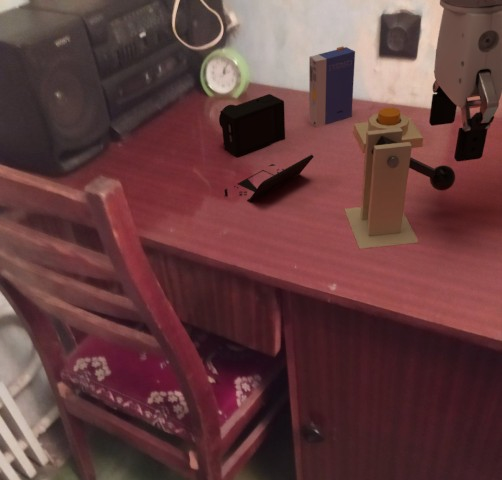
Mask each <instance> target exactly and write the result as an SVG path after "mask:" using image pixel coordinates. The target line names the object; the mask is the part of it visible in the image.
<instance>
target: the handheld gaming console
mask: <svg viewBox="0 0 502 480" xmlns="http://www.w3.org/2000/svg"><path fill="white" fill-rule="evenodd" d="M313 159H314V155H313V154H310V155H308V156H306V157H305V158H303V159H301V160H299V161H297V162H295V163H293V164H292V165H291V166H288V167H287V168H282V169H281V171H280V169H279V168H278V169H276V173H275V174H273V173H271V172H268V171H267V170H264V169H262V170H260V171H258V172H256V173H254V174H253V175H251V176H248V177H246V178H245V179H243V180H242V181H239V182H237V183H236V185H238V186H240V187H243V188H244V189H246V190H249V191H251V192H253V193H252V195H251V196H250V198H247V200H246V202H248V203H252V202H253V201H255V200H257V199H259V198H261V197H263V196H264V195H266V194H267V193H270V192H272V191H273V190H274V189H277V188H278V187H280V186H282V185H283V184H285V183H287V182H288V181H291V180H292V179H293V178H295V177H297V176H300V174H301V173H302V172H303V171H304V170H305V168H306V167H307V166H308V164H309V163H310V162H311V161H312V160H313ZM275 166H277V165H276V164H274V163H271V164H269V165H268V167H275ZM262 172H265V173H267V174H269V175H271V176H270V177H269V178H266V179H264V180H263V181H262V182H261V183H260V184H259V185H258V186H257V187H256V186H255V185H254V184H253V183H252V182H251V180H249V179H251V178H253V177H254V176H256V175H258V174H260V173H262ZM236 185H234V186H233V187H234V188H235V187H236V189H239V187H238V186H236ZM246 190H245V191H239V194H238V195H239V196H240V197H241V196H248V194H247V193H248V191H246ZM243 192H244V194H242V193H243ZM224 195H225V196H226V197H229V194H228V188H225V189H224Z"/></svg>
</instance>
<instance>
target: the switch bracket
mask: <svg viewBox="0 0 502 480" xmlns="http://www.w3.org/2000/svg"><path fill="white" fill-rule="evenodd" d="M402 134H403V131H402V129H401V128H393V129H384V130H374V131H367V132H366V146H365V153H364V161H363V175H362V188H361V189H362V191H361V203H360V206H356V207H346V208H344V209H343V210H344V213H345V216H346V217H347V221H348V223H349V226H350V228H351V231H352V234H353V237H354V239H355V242H356V244H357V247H358V250H366V249H367V250H368V249H376V248H384V247H394V246H403V245H412V244H413V245H414V244H419V243H420V242H419V239H418V238H417V236H416V233H415V231H414V229H413V228H412V226H411V224H410V222H409V220H408V218H407V216H406V214H405V212H404V210H405V209H404V208H405V202H406V193H407V187H408V179H409V171H410V168H409V164H410V157H412V156H411V155H412V145H411V143H410V142H404V143H401V142H402ZM381 136H384V137H386V138H388V139H390V140H392V141H394V142H396V143H394V144H385V145H376V143H377V142H378V140H379V139H380V137H381ZM375 145H376V146H375ZM373 148H374V153H373V154H372V152H371V151H372V150H373Z"/></svg>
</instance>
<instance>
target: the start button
mask: <svg viewBox="0 0 502 480" xmlns="http://www.w3.org/2000/svg"><path fill="white" fill-rule="evenodd" d="M400 114H401V110H400V109H399V108H395V107H383V108H381V109H379V110H378V123H379V124H381V125H387V126H391V125H396V124H399V121H400Z"/></svg>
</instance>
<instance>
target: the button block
mask: <svg viewBox="0 0 502 480" xmlns="http://www.w3.org/2000/svg"><path fill="white" fill-rule="evenodd" d="M378 113H379V112H378ZM378 113H374V114H372V115H371V116H370V117H369V119H368V121H363V122H355V123H353V134H354V136H355V139H356V141H357V142H358V145H359V147H360V149H361V151H362V153H363V154H365V146H366V132H367V131H374V130H384V129H393V128H401V129H402V131H403V134H402V142H401V143H404V142H410V143H411V145H412V148H414V149H415V148H421V147H423V142H424V136H423V135H422V133H421V132H420V130H419V128H418V127H417V126H416V124H415V123H414V121H413V120H412V118H411V117H407V116H406V115H405V114H402V113H400V121H399V124H396V125H391V126H387V125H381V124H379V123H378Z"/></svg>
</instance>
